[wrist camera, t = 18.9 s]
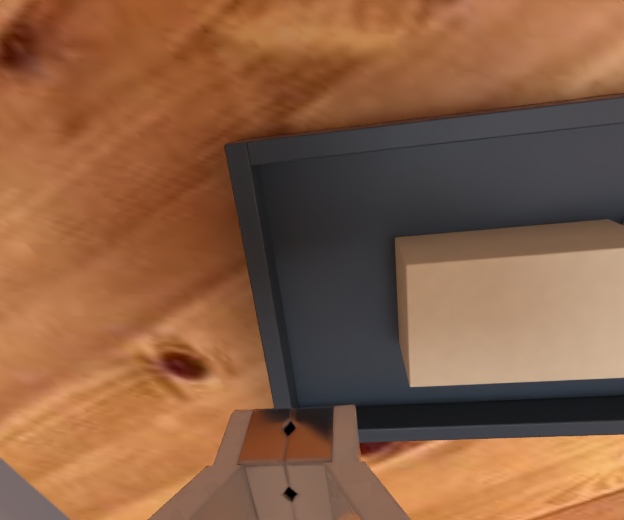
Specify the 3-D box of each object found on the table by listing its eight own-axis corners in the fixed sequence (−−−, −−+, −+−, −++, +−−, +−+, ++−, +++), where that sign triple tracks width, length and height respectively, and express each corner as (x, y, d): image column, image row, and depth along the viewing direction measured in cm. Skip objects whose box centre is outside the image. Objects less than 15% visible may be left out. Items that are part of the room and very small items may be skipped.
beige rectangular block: (394, 236, 16) (405, 265, 13) (608, 218, 15) (669, 244, 12) (399, 343, 18) (409, 388, 15) (590, 332, 17) (640, 377, 14)
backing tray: (287, 412, 20) (281, 445, 18) (238, 139, 15) (223, 144, 13) (804, 392, 18) (861, 427, 16) (942, 54, 13) (1049, 45, 11)
